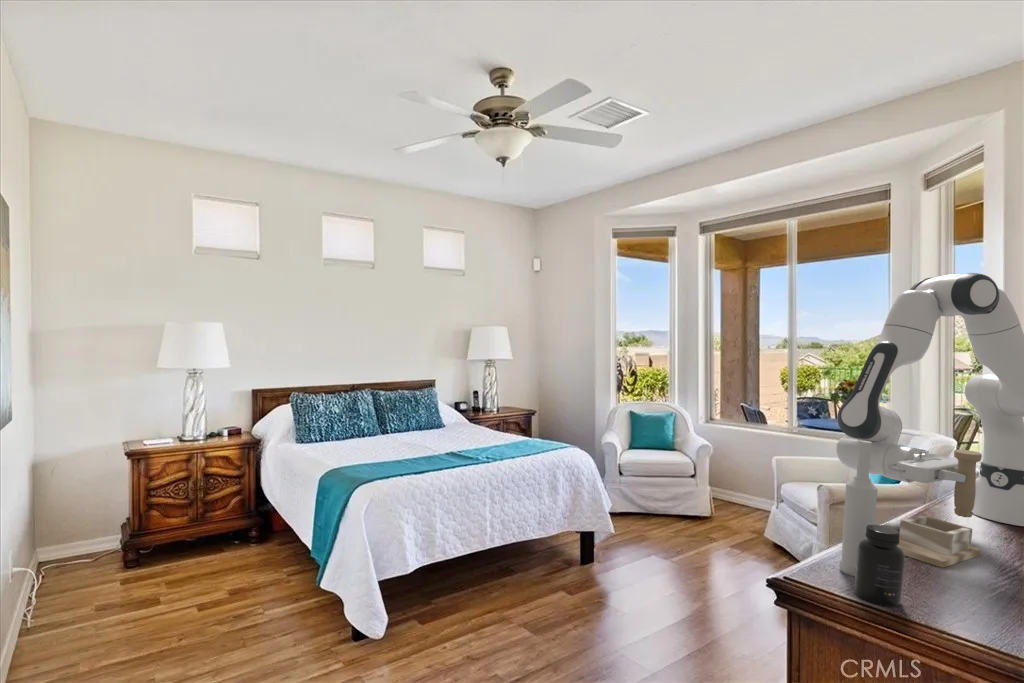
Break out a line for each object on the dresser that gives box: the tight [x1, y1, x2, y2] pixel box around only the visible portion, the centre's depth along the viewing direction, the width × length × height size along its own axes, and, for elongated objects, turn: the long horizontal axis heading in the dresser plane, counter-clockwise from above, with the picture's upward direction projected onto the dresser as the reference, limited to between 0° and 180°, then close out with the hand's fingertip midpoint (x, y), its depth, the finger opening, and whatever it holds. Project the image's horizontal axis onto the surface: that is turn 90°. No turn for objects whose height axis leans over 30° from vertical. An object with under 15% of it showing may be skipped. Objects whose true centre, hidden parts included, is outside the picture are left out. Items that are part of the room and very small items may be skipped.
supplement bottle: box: [854, 524, 906, 608], centre depth 98 cm, size 7×7×12 cm
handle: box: [953, 449, 983, 518], centre depth 134 cm, size 5×6×15 cm
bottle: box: [838, 440, 879, 577], centre depth 109 cm, size 5×5×25 cm
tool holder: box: [897, 515, 983, 569], centre depth 124 cm, size 18×12×6 cm, turn 121°
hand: (970, 477), depth 133 cm, fingers closed on handle, 3 cm apart
